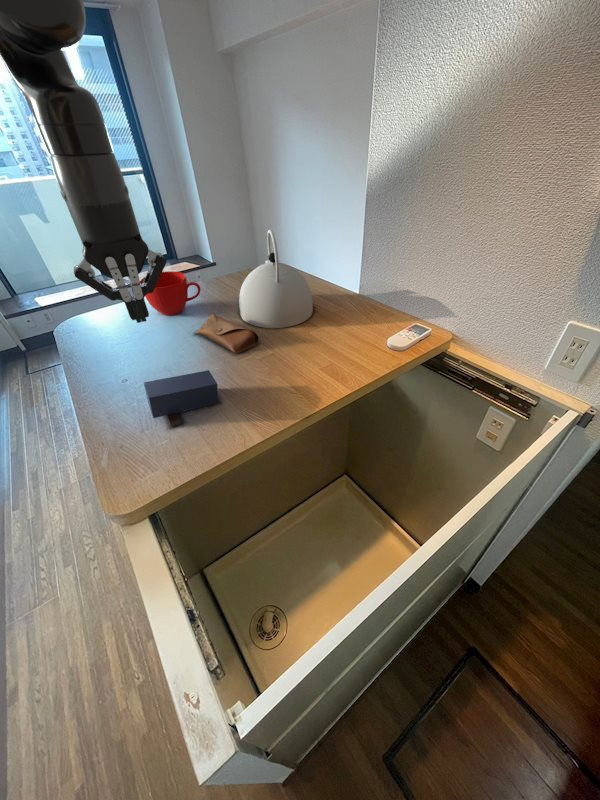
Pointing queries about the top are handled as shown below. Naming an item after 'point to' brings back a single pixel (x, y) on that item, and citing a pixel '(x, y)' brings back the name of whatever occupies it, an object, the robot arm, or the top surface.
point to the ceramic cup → (170, 293)
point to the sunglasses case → (228, 334)
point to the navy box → (181, 393)
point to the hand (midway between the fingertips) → (140, 320)
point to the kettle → (275, 294)
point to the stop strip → (174, 419)
